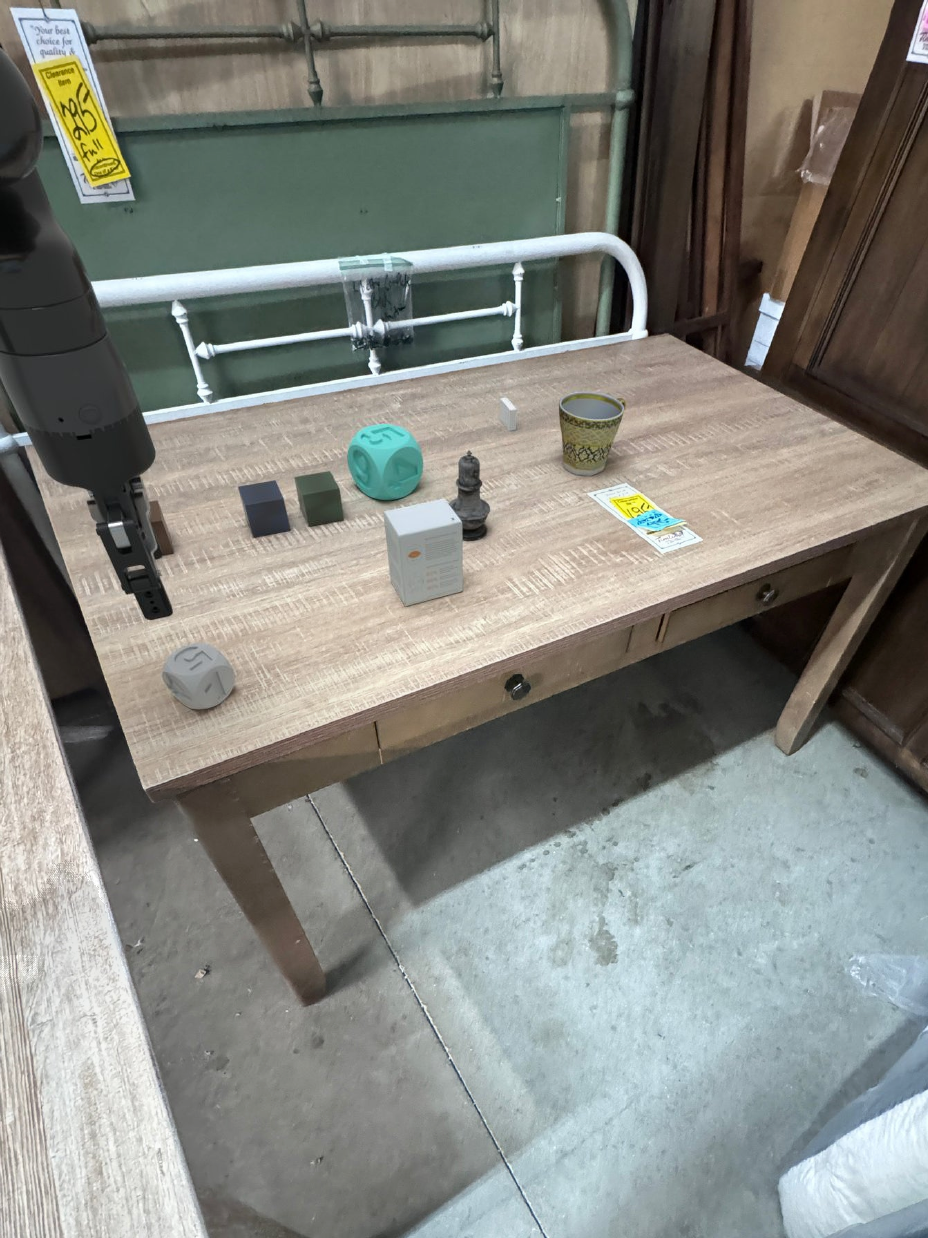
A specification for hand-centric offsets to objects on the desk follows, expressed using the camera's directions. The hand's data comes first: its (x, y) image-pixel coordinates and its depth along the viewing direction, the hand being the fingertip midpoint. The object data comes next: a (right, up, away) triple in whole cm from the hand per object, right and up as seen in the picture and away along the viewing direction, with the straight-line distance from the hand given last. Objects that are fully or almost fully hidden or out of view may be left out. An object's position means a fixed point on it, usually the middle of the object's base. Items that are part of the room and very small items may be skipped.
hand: (155, 586), depth 60 cm
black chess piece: (+25, +13, +37) cm, 47 cm away
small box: (+20, +4, +28) cm, 34 cm away
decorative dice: (+12, +22, +44) cm, 50 cm away
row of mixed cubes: (-6, +13, +34) cm, 37 cm away
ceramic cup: (+44, +28, +52) cm, 74 cm away
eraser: (+30, +37, +60) cm, 77 cm away
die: (-2, -10, +13) cm, 16 cm away
